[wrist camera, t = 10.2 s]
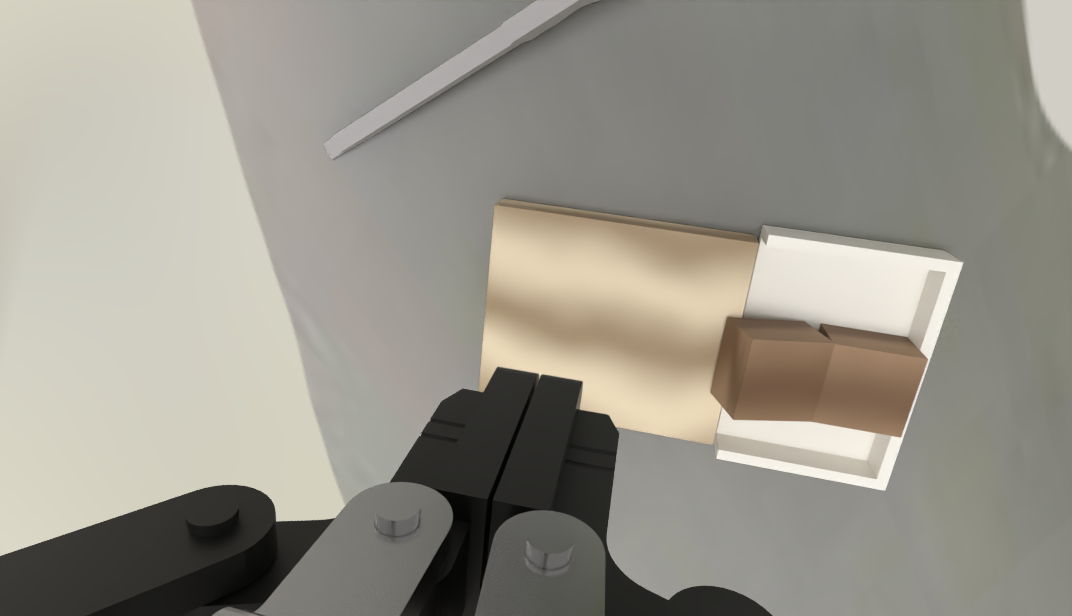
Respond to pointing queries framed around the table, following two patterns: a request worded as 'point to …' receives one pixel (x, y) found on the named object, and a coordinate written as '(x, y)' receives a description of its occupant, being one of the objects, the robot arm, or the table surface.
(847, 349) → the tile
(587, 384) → the beige square panel
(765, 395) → the brown square block
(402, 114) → the caliper
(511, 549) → the robot arm
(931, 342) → the tray
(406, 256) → the table surface
